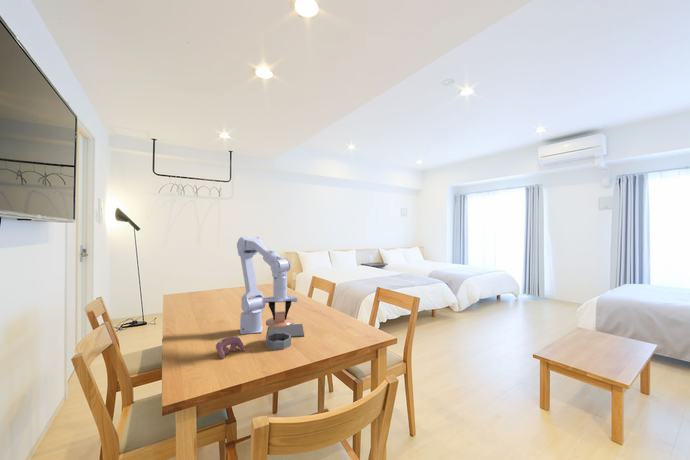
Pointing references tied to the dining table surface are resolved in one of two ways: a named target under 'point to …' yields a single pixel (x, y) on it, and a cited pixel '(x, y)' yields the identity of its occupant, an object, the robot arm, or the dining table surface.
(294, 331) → the mat
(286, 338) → the bowl
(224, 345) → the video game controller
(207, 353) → the dining table surface
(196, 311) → the dining table surface
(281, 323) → the lid
